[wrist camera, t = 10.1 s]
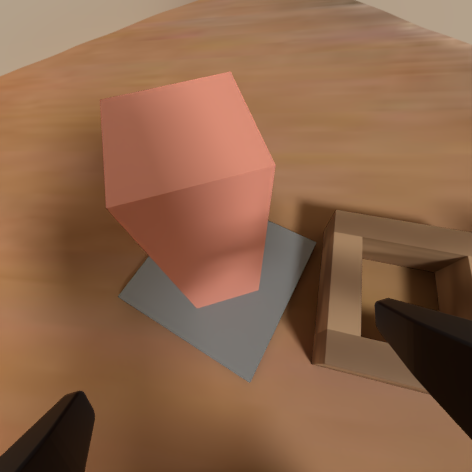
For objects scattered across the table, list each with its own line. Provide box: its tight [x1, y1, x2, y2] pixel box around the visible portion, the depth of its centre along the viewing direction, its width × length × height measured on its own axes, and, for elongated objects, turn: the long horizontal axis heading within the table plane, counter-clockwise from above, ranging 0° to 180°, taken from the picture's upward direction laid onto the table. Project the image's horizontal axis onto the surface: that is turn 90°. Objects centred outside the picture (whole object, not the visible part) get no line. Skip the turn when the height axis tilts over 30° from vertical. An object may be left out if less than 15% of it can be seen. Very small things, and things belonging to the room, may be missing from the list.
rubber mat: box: [118, 221, 316, 383], centre depth 21 cm, size 12×12×1 cm
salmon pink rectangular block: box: [100, 72, 276, 308], centre depth 15 cm, size 5×5×14 cm
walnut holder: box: [312, 210, 472, 394], centre depth 18 cm, size 11×11×4 cm
